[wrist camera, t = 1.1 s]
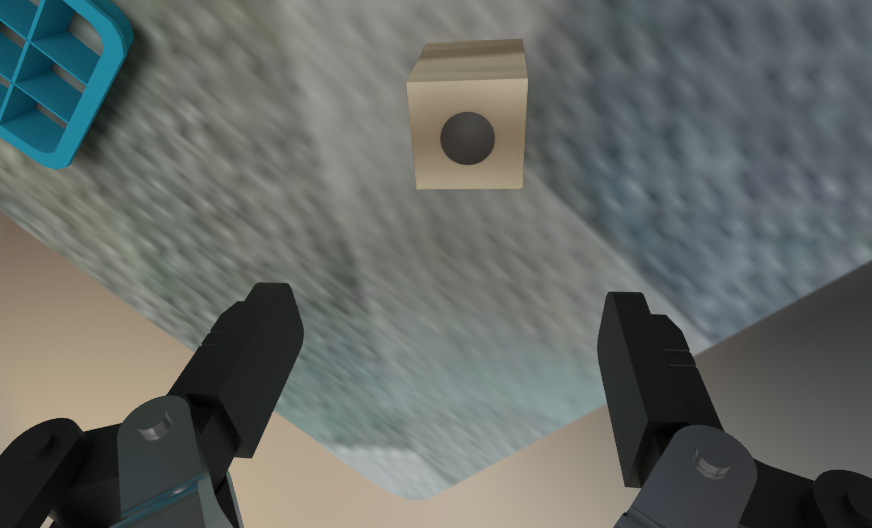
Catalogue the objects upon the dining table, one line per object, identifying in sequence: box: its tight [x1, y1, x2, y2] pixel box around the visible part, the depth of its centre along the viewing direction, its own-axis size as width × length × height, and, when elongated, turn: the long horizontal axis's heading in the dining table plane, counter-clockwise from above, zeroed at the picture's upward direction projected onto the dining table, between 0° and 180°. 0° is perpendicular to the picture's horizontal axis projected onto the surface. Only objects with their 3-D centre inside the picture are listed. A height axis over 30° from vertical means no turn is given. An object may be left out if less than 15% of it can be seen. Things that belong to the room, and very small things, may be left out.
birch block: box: [406, 39, 528, 189], centre depth 24 cm, size 5×5×7 cm
